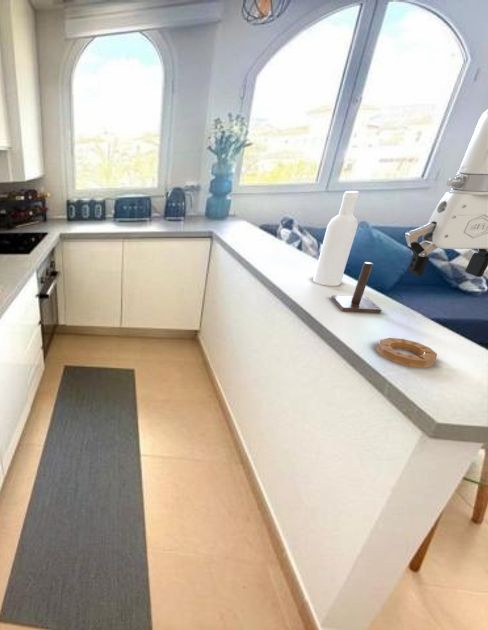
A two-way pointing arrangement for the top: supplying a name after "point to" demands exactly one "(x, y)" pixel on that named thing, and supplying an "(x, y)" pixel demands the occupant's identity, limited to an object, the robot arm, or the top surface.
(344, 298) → the wooden peg stand
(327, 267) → the bottle
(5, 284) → the top surface
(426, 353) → the ring
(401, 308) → the top surface
